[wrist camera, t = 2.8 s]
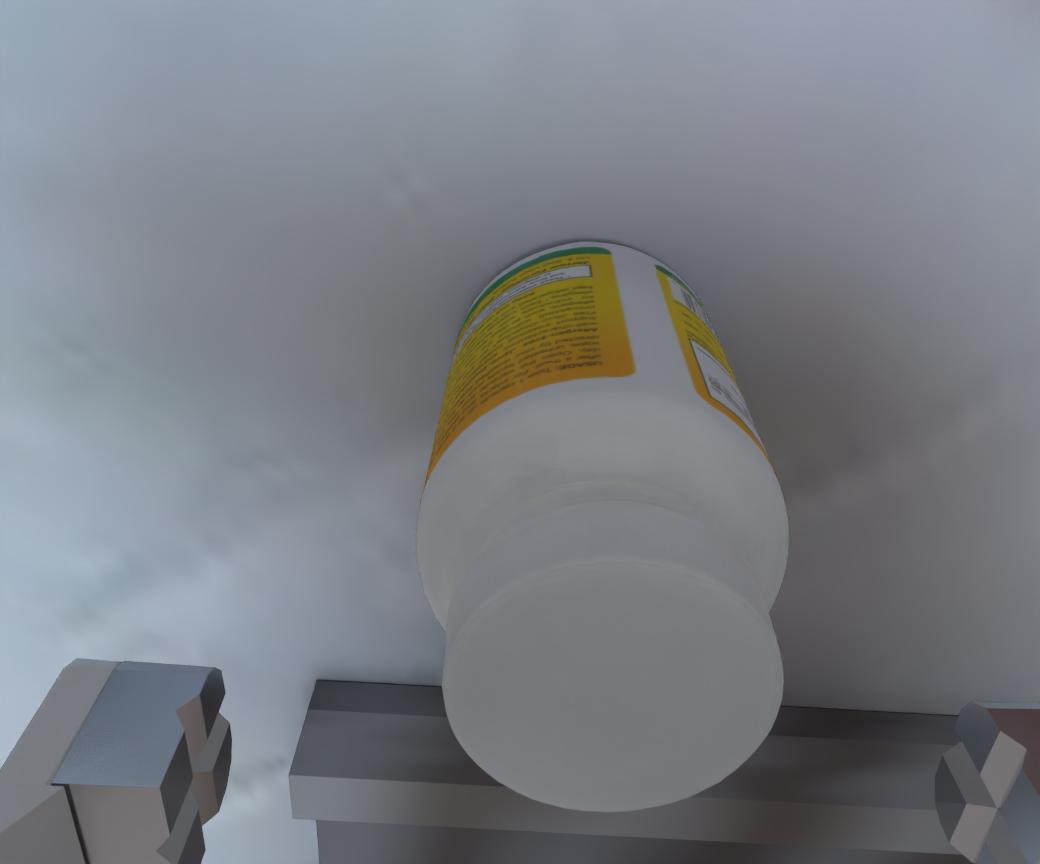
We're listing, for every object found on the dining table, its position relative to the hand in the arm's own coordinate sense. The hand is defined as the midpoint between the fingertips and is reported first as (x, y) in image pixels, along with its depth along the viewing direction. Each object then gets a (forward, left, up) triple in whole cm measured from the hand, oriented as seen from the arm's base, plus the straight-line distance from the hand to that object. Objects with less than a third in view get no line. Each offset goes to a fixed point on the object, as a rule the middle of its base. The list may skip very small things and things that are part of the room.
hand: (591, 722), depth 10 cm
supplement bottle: (0, 0, -10) cm, 10 cm away
